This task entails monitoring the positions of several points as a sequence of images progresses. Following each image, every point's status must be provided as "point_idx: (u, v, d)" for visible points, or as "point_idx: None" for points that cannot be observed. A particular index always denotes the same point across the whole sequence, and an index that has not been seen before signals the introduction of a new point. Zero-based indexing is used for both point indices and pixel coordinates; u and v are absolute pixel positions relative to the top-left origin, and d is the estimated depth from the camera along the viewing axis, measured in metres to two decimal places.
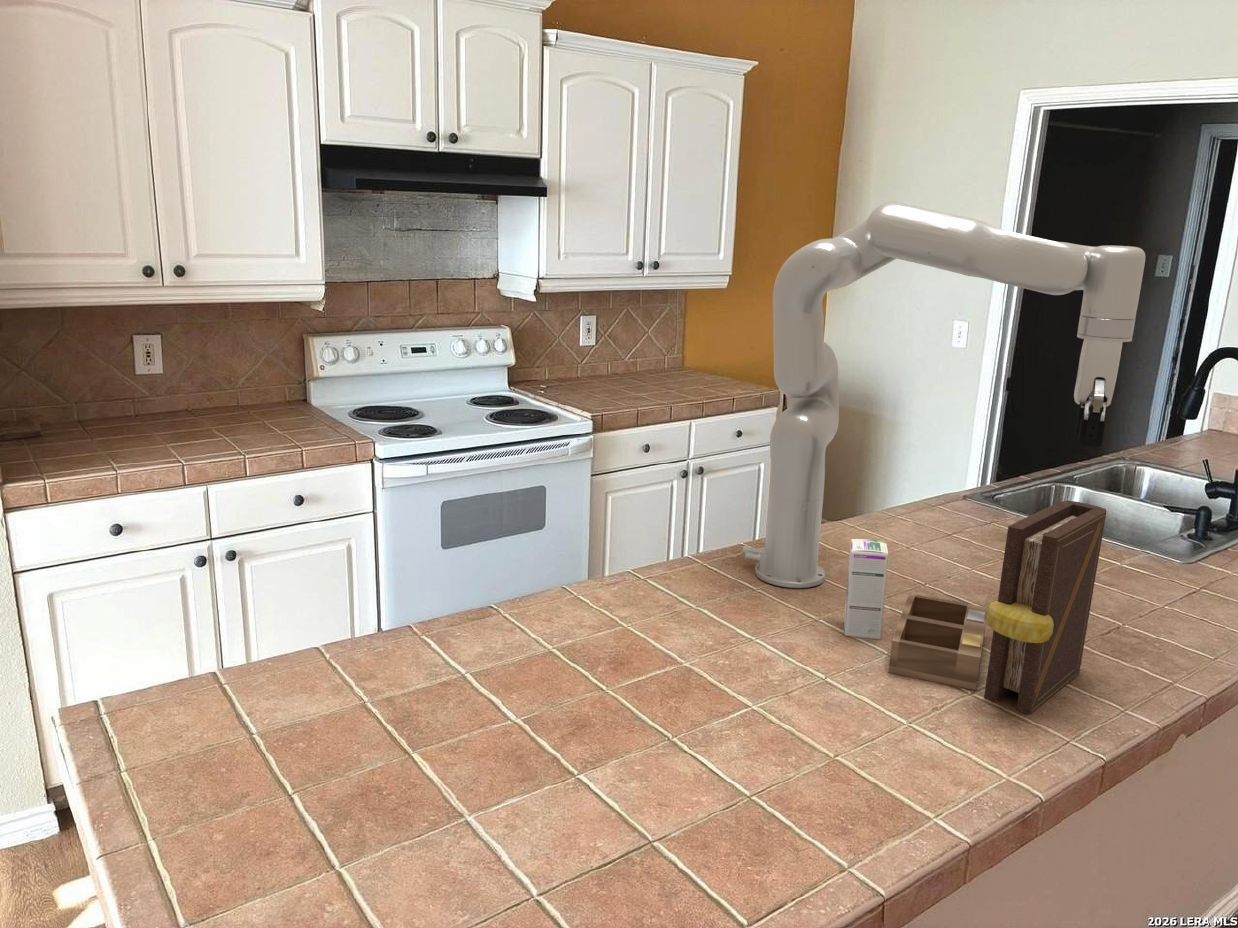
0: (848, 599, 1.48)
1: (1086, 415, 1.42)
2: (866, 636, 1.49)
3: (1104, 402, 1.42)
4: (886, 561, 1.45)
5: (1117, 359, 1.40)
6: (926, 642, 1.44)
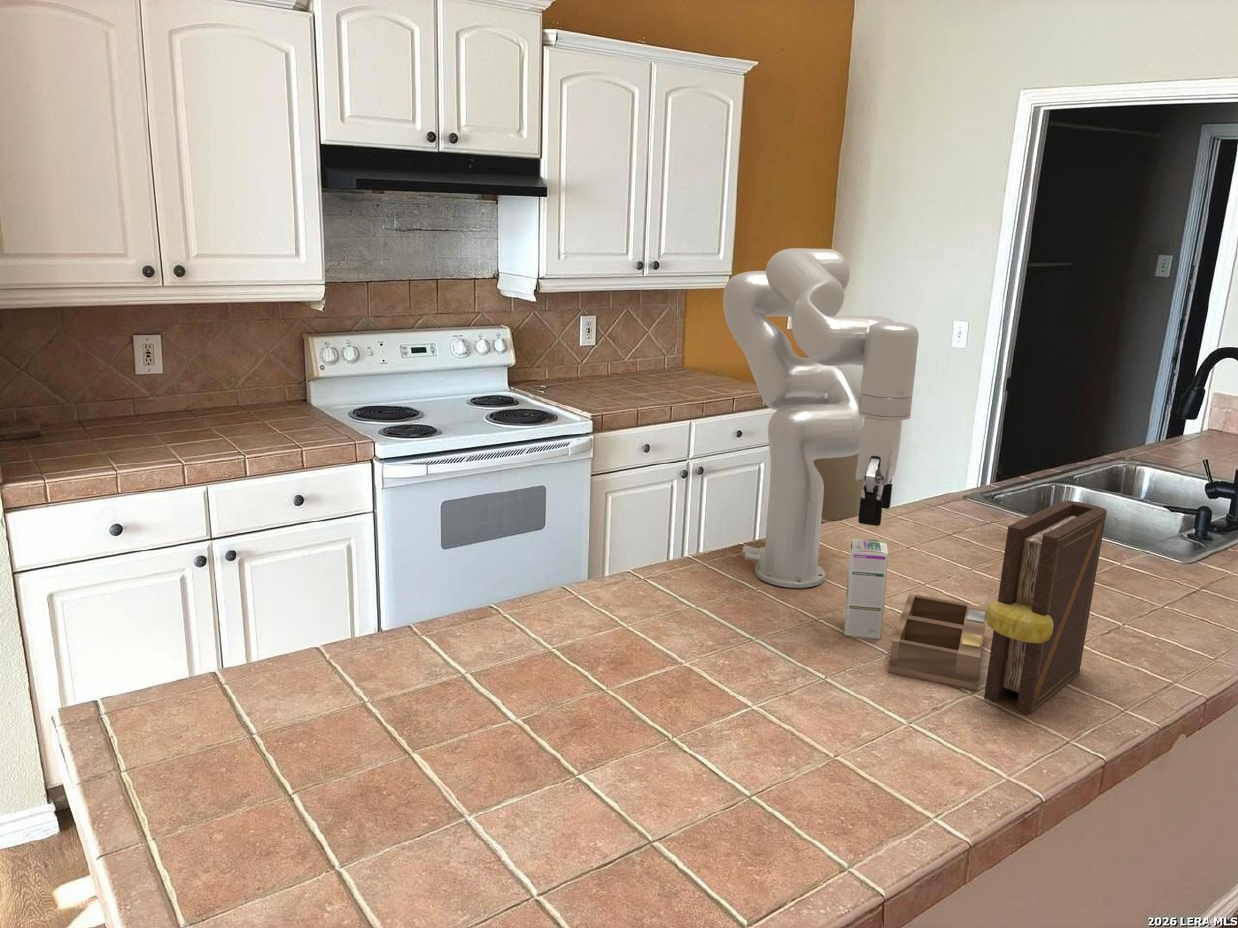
0: (848, 599, 1.48)
1: (863, 494, 1.40)
2: (866, 636, 1.49)
3: (881, 481, 1.40)
4: (886, 561, 1.45)
5: (891, 438, 1.38)
6: (926, 642, 1.44)
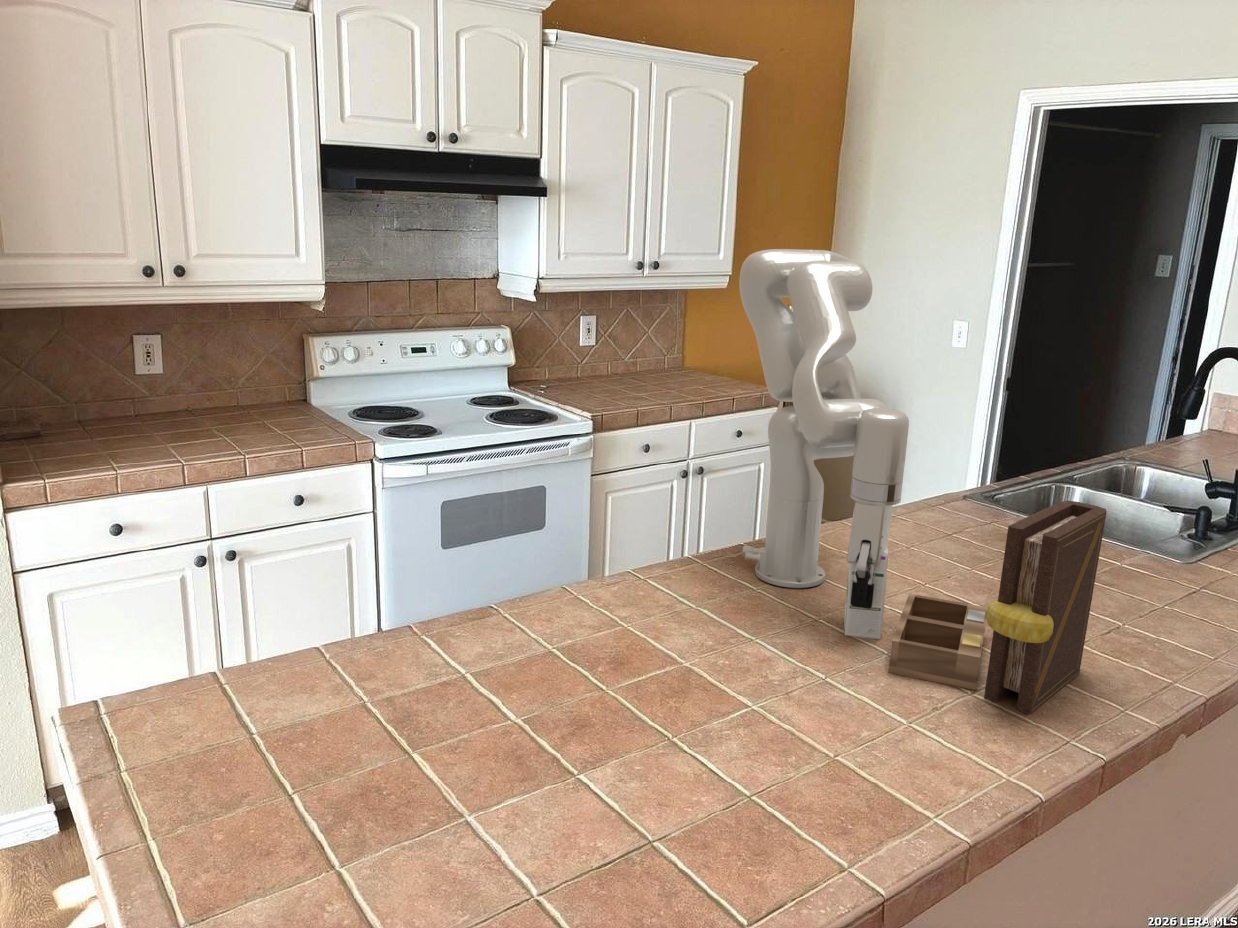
0: (848, 599, 1.48)
1: (855, 578, 1.45)
2: (866, 636, 1.49)
3: (872, 566, 1.44)
4: (886, 561, 1.45)
5: (882, 523, 1.42)
6: (926, 642, 1.44)
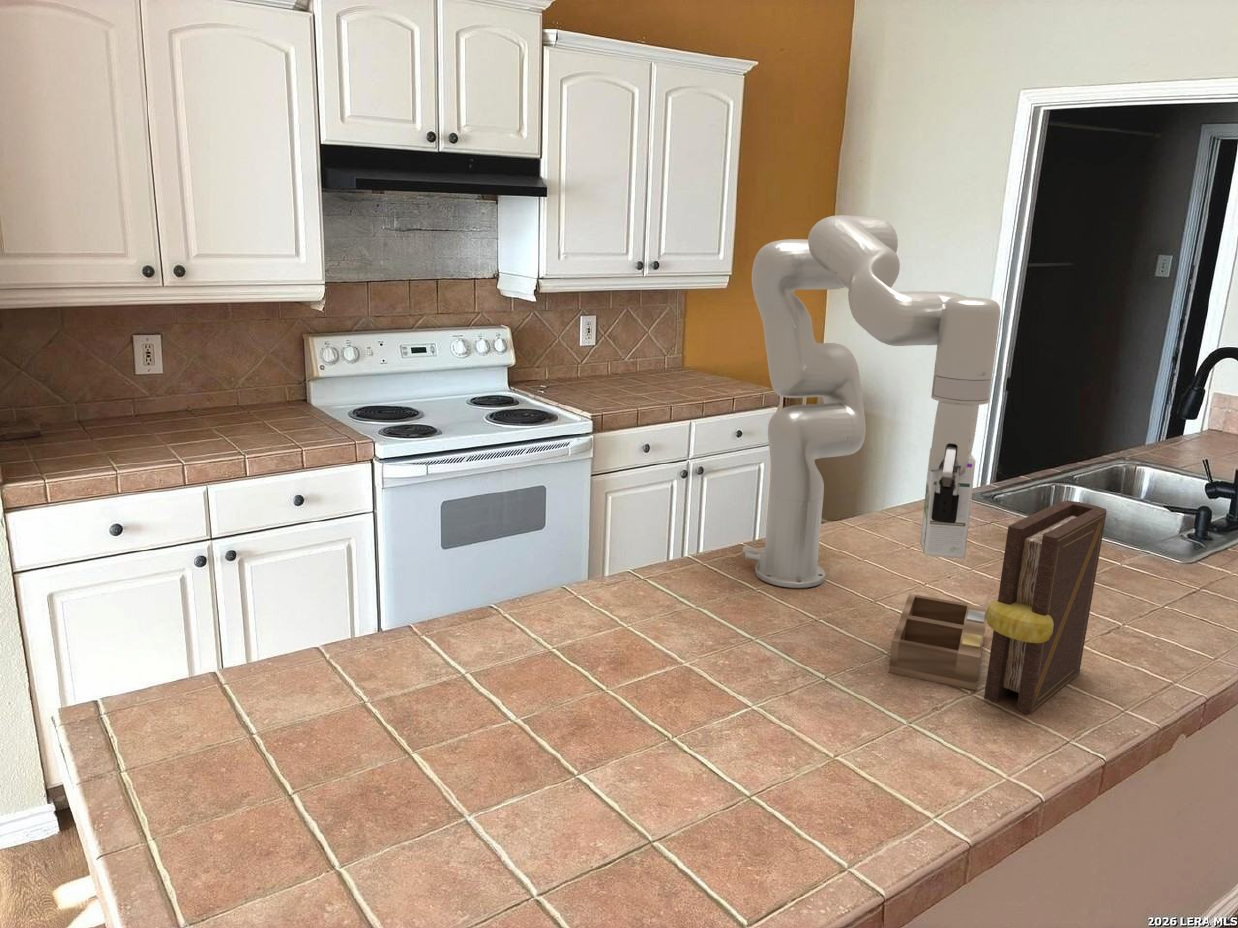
0: (928, 513, 1.32)
1: (938, 489, 1.29)
2: (948, 555, 1.33)
3: (957, 474, 1.29)
4: (973, 469, 1.29)
5: (970, 424, 1.26)
6: (926, 642, 1.44)
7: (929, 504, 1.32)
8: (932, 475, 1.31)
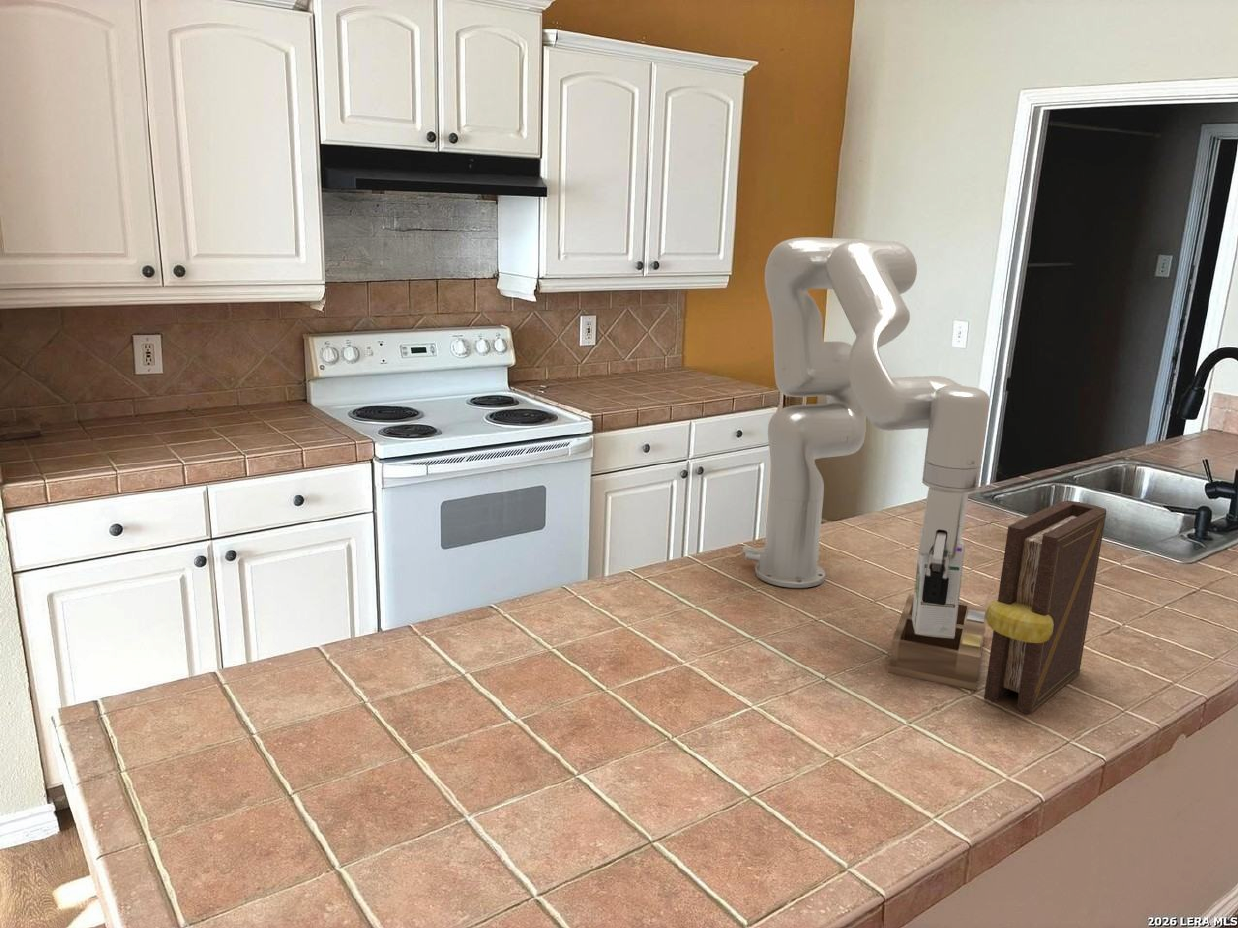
0: (919, 594, 1.35)
1: (928, 572, 1.32)
2: (938, 635, 1.36)
3: (947, 558, 1.32)
4: (962, 553, 1.32)
5: (959, 511, 1.29)
6: (926, 642, 1.44)
7: (920, 586, 1.35)
8: (923, 558, 1.34)
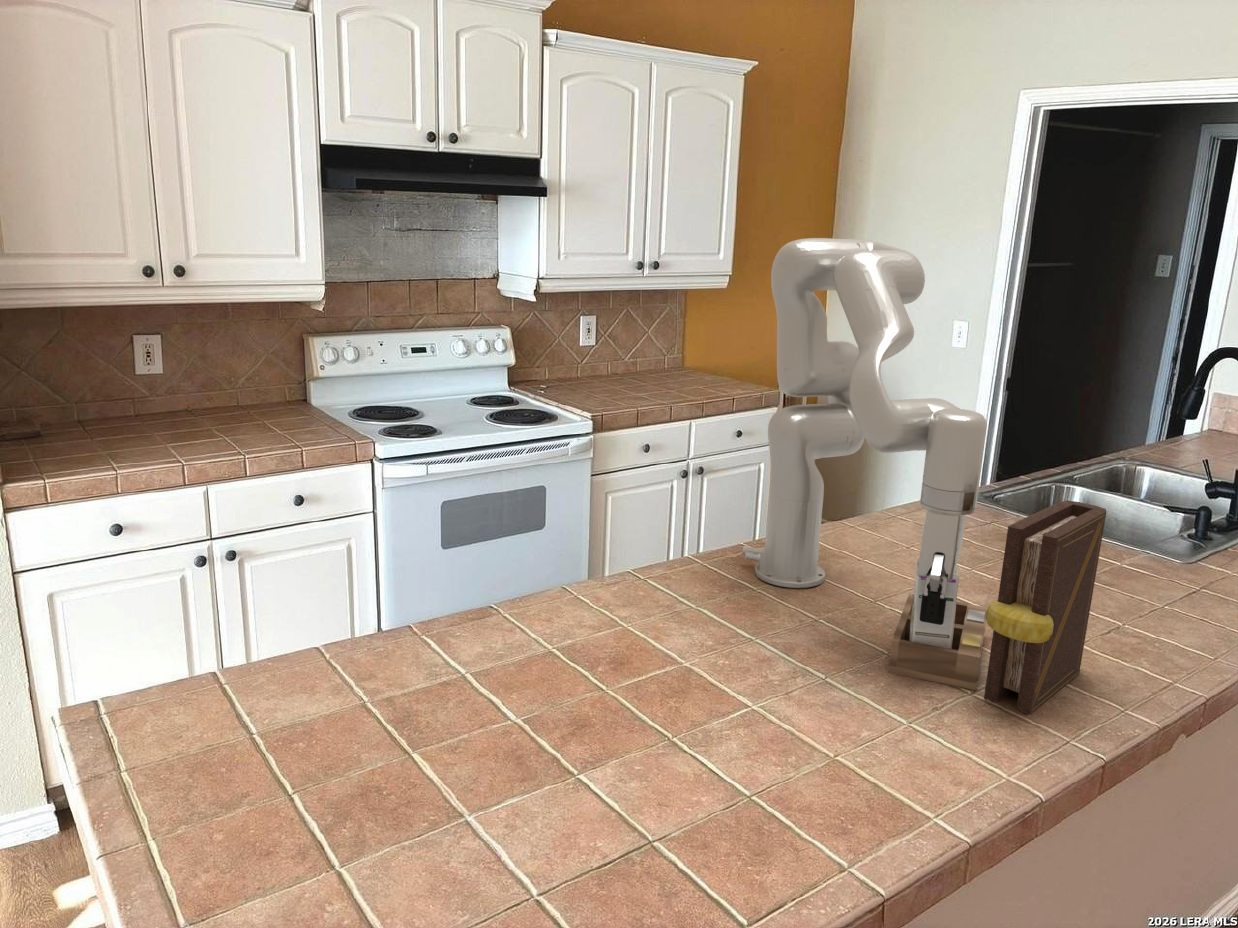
0: (914, 624, 1.37)
1: (925, 592, 1.32)
2: None
3: (945, 578, 1.32)
4: (956, 584, 1.34)
5: (957, 534, 1.30)
6: None
7: (914, 616, 1.36)
8: (917, 588, 1.35)
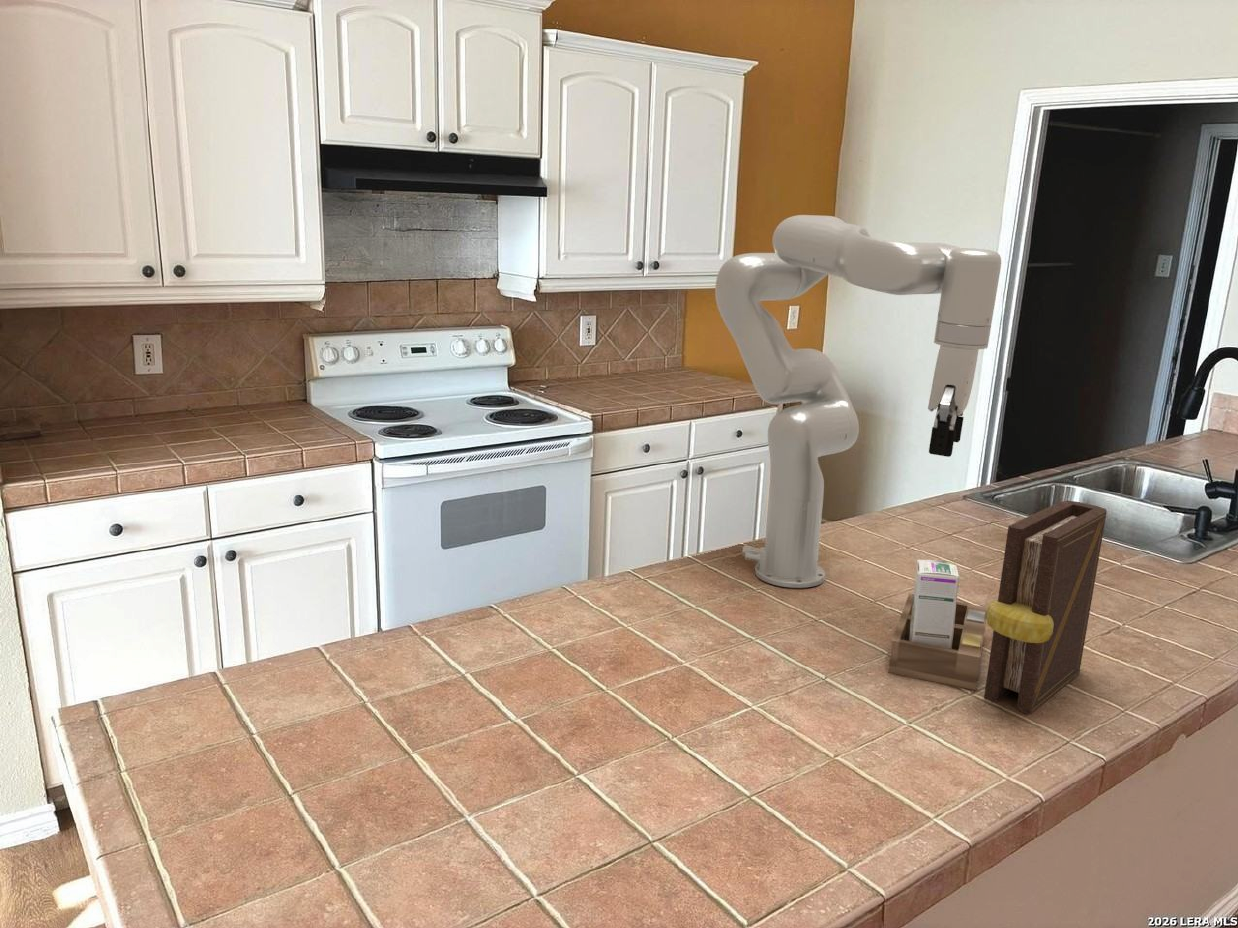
0: (914, 625, 1.37)
1: (935, 423, 1.38)
2: None
3: (955, 411, 1.38)
4: (956, 585, 1.34)
5: (968, 367, 1.36)
6: None
7: (914, 616, 1.36)
8: (917, 589, 1.35)
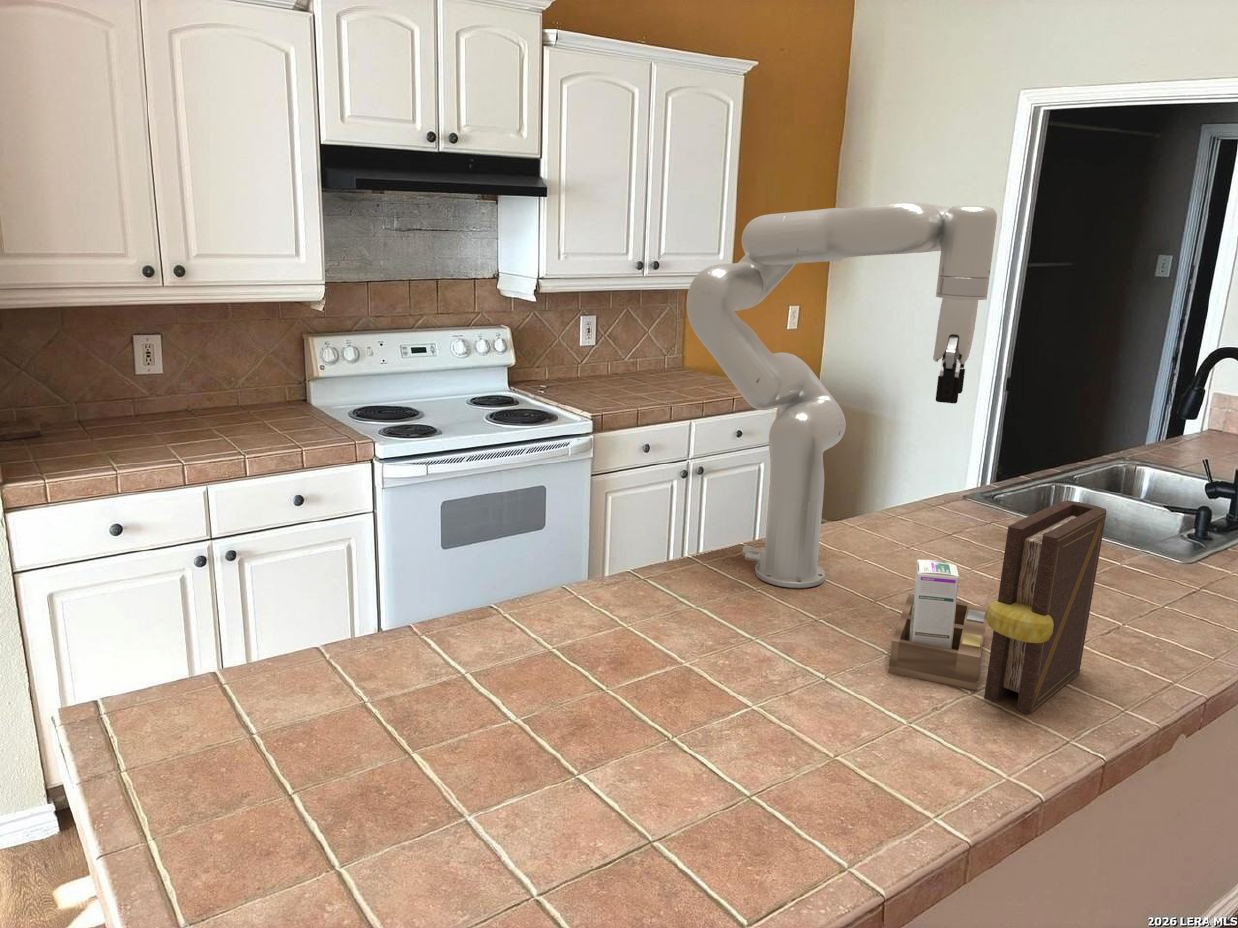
0: (914, 625, 1.37)
1: (941, 372, 1.45)
2: None
3: (959, 359, 1.45)
4: (956, 585, 1.34)
5: (970, 317, 1.44)
6: None
7: (914, 616, 1.36)
8: (917, 589, 1.35)
